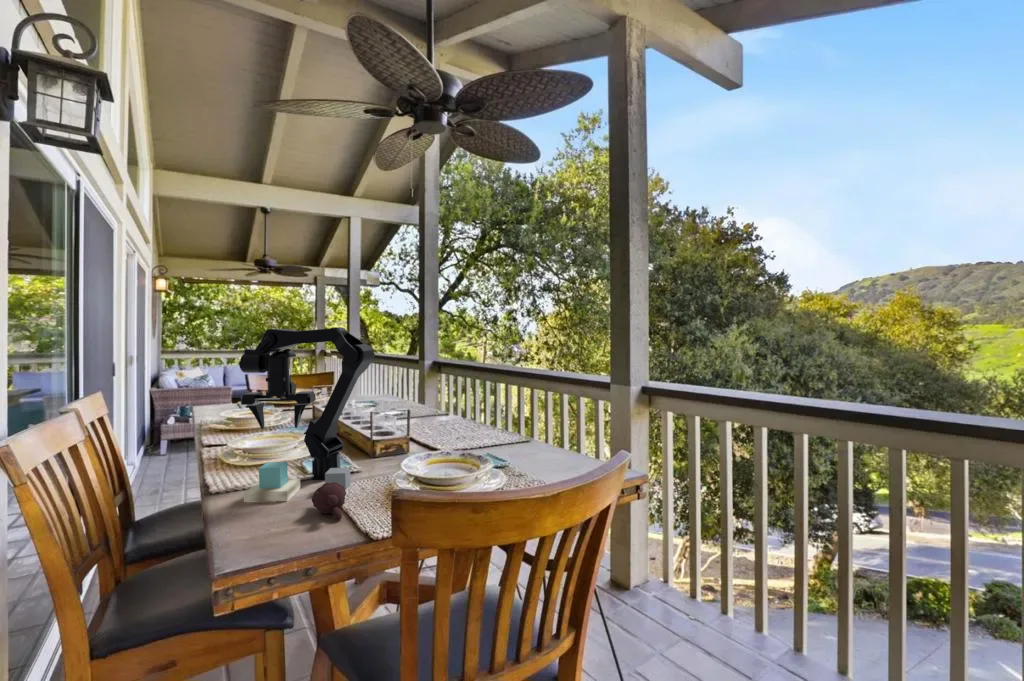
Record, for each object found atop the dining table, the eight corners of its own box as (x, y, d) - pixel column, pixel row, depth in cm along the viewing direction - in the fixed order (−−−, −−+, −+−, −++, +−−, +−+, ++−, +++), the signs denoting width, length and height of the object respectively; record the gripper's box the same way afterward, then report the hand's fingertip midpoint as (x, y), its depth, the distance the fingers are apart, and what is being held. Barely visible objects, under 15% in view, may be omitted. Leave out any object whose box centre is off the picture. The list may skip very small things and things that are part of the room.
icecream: (303, 478, 121) (313, 503, 108) (335, 466, 125) (349, 489, 112) (312, 505, 123) (323, 532, 110) (343, 492, 126) (357, 517, 113)
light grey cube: (350, 486, 136) (350, 467, 136) (345, 492, 131) (345, 473, 131) (330, 487, 136) (330, 468, 135) (325, 493, 131) (324, 473, 130)
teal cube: (287, 481, 132) (287, 462, 132) (280, 487, 127) (280, 467, 127) (267, 482, 132) (266, 462, 131) (259, 488, 127) (258, 468, 126)
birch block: (300, 490, 135) (300, 478, 135) (287, 503, 125) (287, 491, 125) (260, 491, 134) (260, 480, 134) (244, 505, 124) (243, 492, 124)
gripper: (320, 370, 155) (321, 422, 156) (255, 371, 154) (256, 423, 154) (309, 373, 144) (310, 429, 145) (239, 374, 143) (240, 431, 143)
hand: (279, 428), depth 147 cm, fingers open, 9 cm apart
